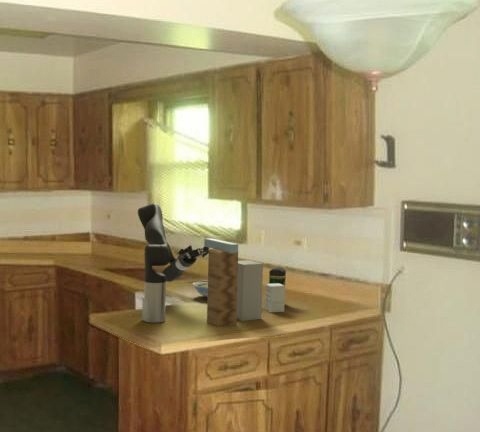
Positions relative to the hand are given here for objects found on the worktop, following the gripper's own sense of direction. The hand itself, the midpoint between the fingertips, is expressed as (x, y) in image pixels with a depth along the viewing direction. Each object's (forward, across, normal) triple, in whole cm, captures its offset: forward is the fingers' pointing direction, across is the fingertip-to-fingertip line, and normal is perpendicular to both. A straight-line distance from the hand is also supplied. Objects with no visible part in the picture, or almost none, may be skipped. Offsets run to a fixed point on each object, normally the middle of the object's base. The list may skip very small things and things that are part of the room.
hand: (199, 246), depth 336 cm
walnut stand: (+6, -1, +38) cm, 39 cm away
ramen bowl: (-41, +25, +12) cm, 50 cm away
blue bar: (+19, -1, +9) cm, 21 cm away
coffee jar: (-17, +45, +26) cm, 54 cm away
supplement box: (-7, +36, +32) cm, 48 cm away
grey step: (0, +15, +35) cm, 38 cm away
